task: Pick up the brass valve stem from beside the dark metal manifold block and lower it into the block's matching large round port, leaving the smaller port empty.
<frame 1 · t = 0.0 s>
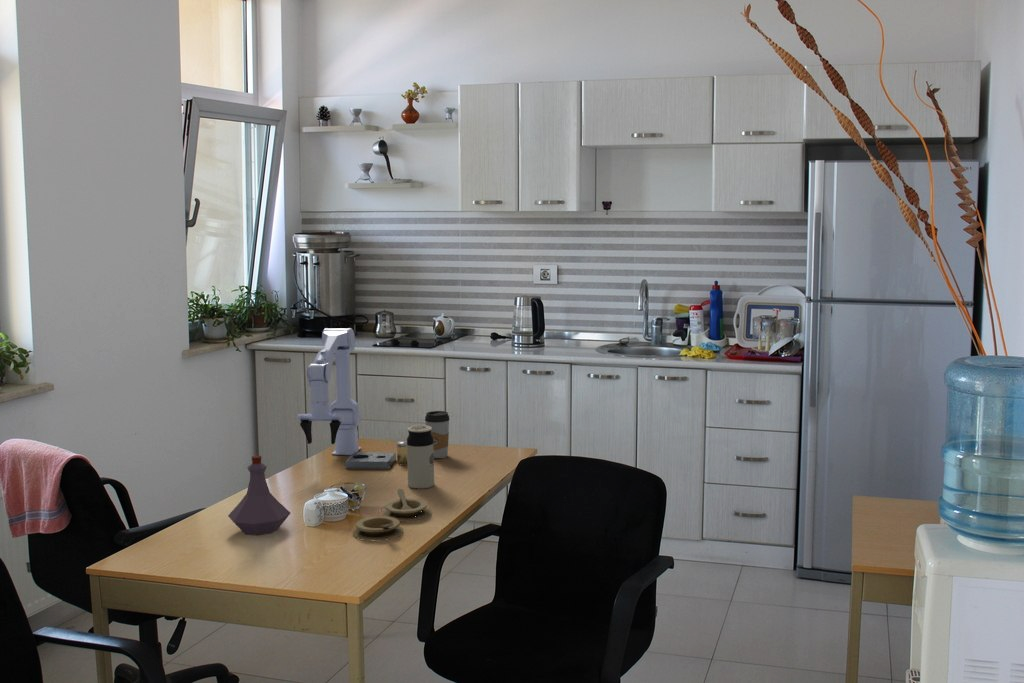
hand: (321, 443, 327), 10 cm above the table, tool pointing down, fingers open, 7 cm apart
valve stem: (403, 463, 340), on the table
tableware set: (393, 526, 278), on the table
coffee cup: (438, 457, 348), on the table
flask: (260, 530, 274), on the table
travel mug: (421, 486, 314), on the table
manifold block: (371, 464, 340), on the table
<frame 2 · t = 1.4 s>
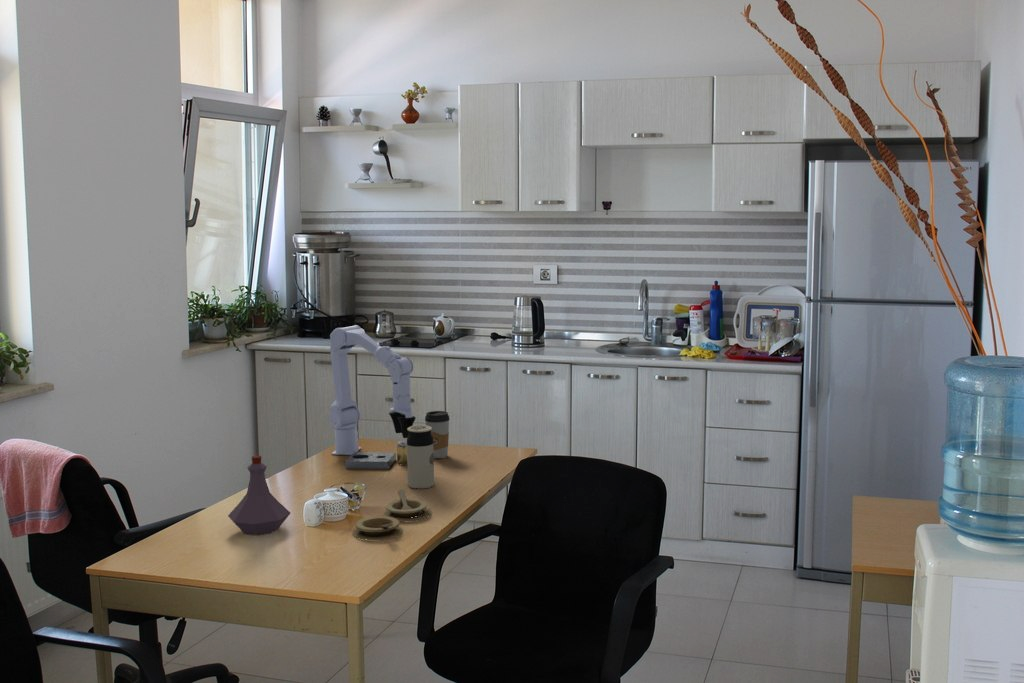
hand: (402, 435, 339), 9 cm above the table, tool pointing down, fingers open, 7 cm apart
nothing on the table moved.
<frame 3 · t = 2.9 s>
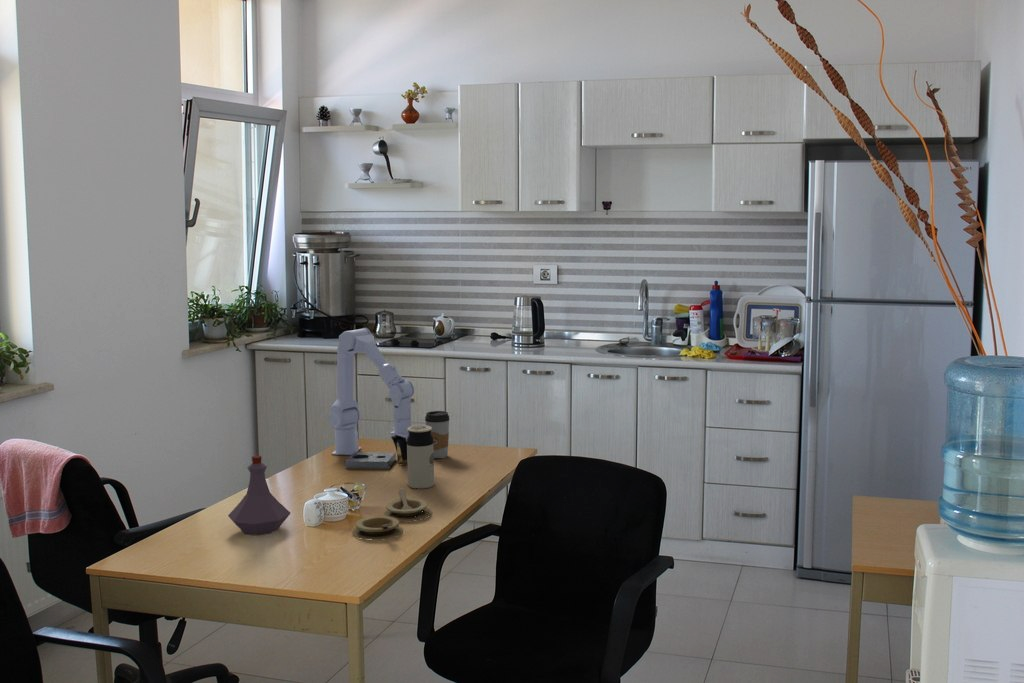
hand: (403, 458, 340), 2 cm above the table, tool pointing down, fingers closed on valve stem, 4 cm apart
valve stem: (403, 463, 340), on the table, touching gripper
everything else where it was.
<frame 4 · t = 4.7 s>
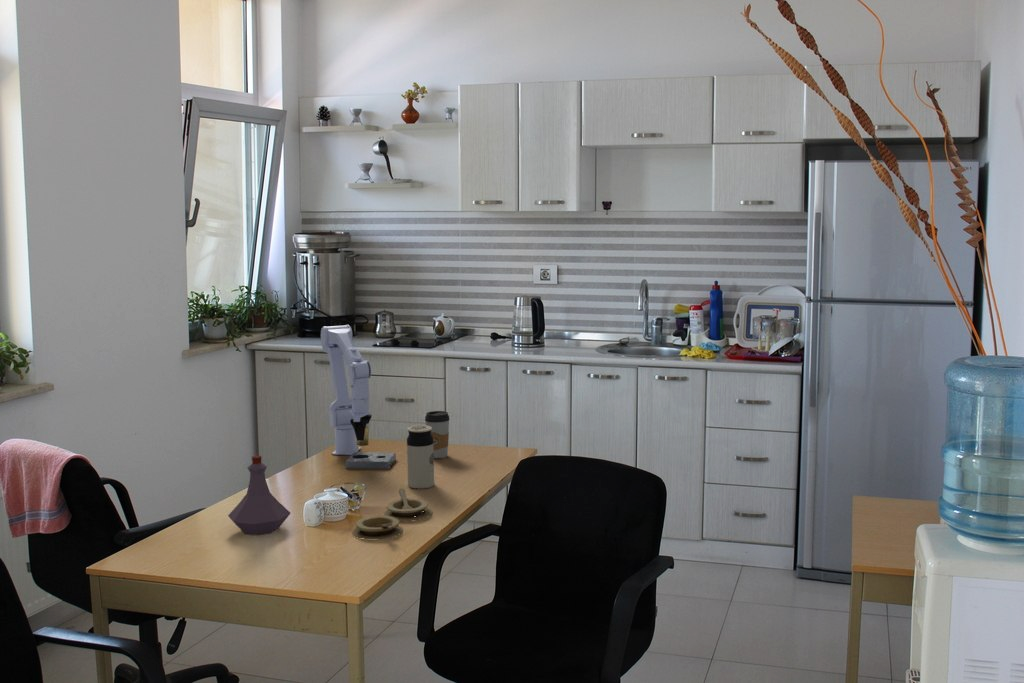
hand: (361, 438, 339), 9 cm above the table, tool pointing down, fingers closed on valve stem, 4 cm apart
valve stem: (362, 444, 339), point 7 cm above the table, touching gripper
everything else where it was.
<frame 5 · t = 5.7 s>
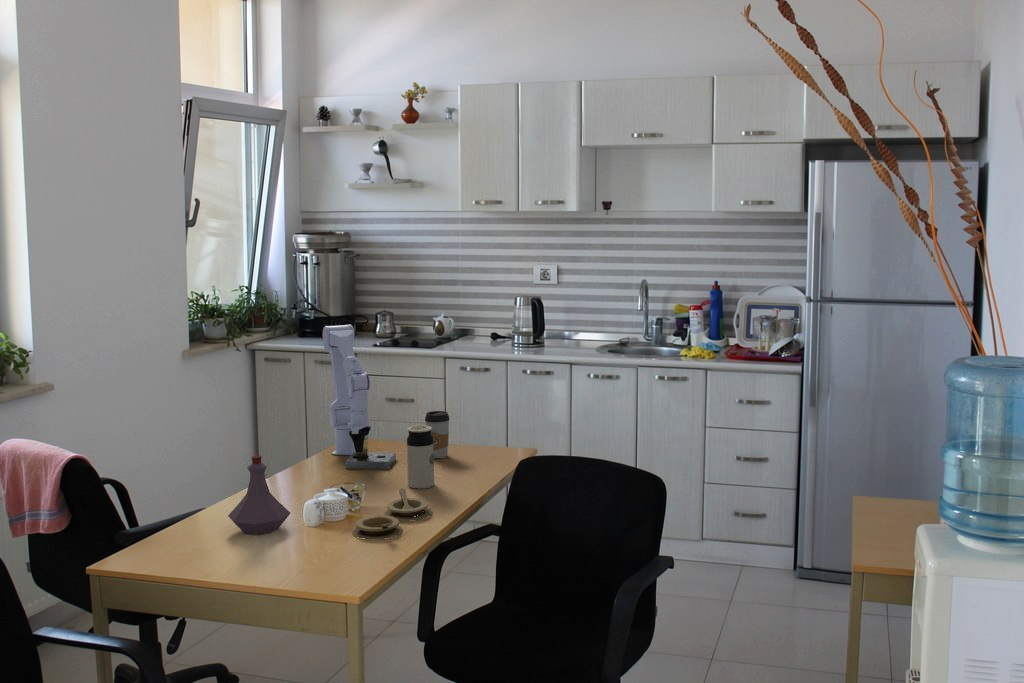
hand: (360, 450, 339), 5 cm above the table, tool pointing down, fingers closed on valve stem, 4 cm apart
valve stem: (361, 456, 339), point 3 cm above the table, touching gripper
everything else where it was.
when the fingers open (3 cm above the table, at t = 6.5 s): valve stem drops 1 cm, resting in manifold block.
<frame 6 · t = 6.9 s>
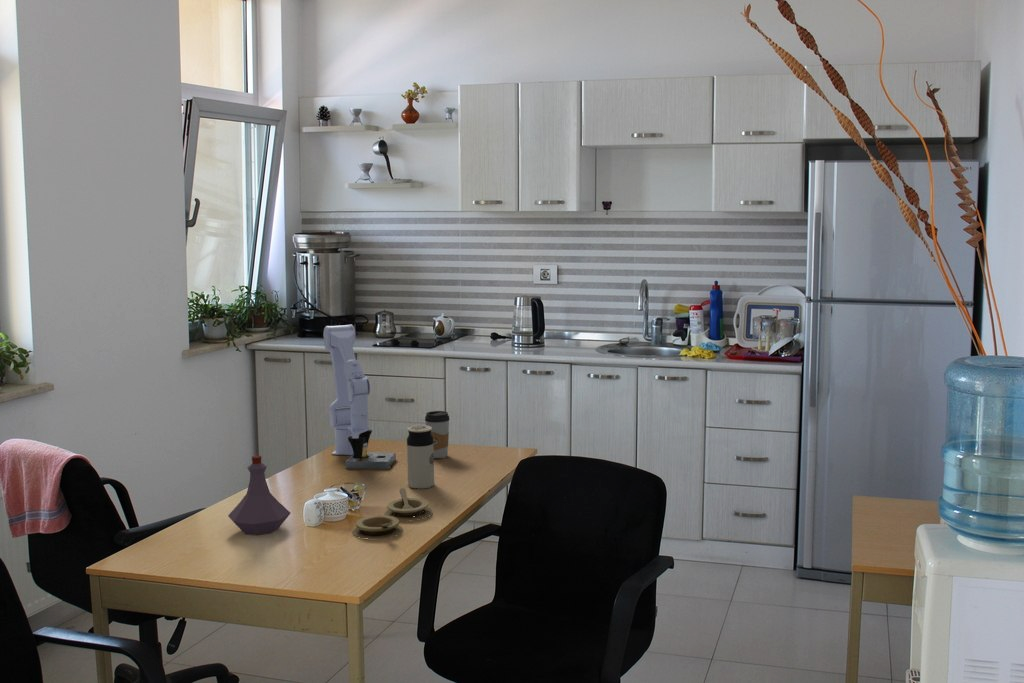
hand: (360, 454, 339), 3 cm above the table, tool pointing down, fingers open, 7 cm apart
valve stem: (361, 464, 340), resting in manifold block
everything else where it was.
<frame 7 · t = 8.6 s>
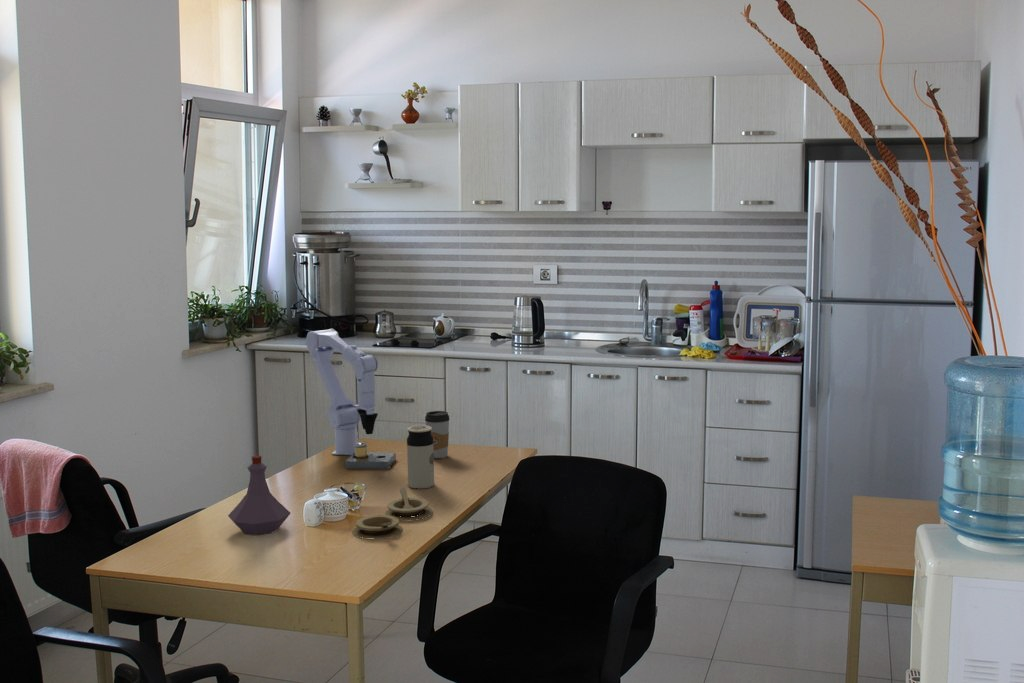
hand: (367, 431, 345), 9 cm above the table, tool pointing down, fingers open, 7 cm apart
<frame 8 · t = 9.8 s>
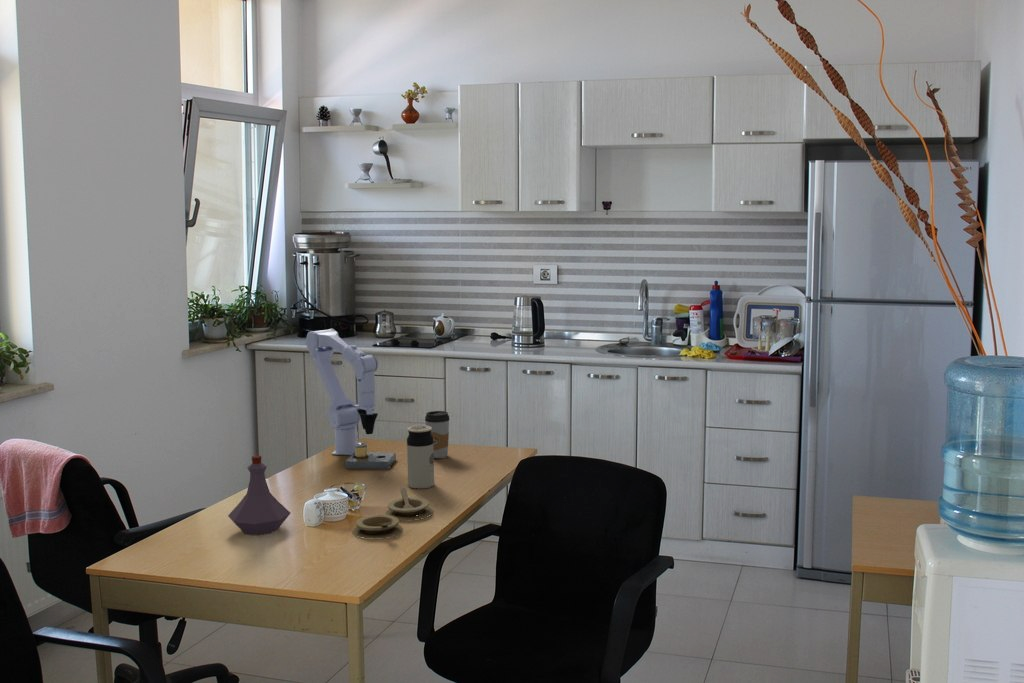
hand: (367, 431, 345), 9 cm above the table, tool pointing down, fingers open, 7 cm apart
at the end: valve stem 0.2 cm from the target spot on the manifold block, point 0.0 cm above the manifold block's base; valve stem tilted 1°; the gripper is holding nothing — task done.
